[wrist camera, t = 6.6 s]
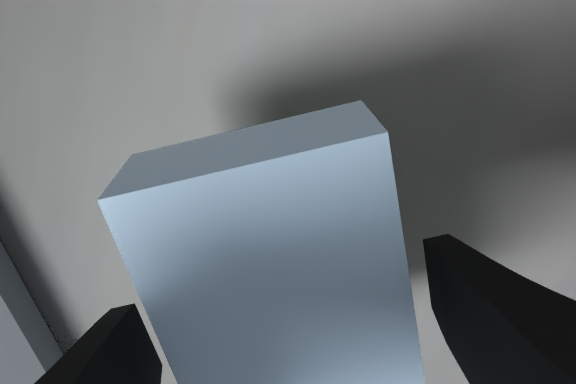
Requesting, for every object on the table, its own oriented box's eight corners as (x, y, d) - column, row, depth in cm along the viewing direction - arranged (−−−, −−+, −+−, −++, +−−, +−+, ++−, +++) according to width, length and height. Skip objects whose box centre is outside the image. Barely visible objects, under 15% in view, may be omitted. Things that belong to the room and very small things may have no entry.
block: (404, 356, 14) (432, 430, 12) (224, 393, 15) (217, 473, 12) (361, 99, 11) (388, 132, 9) (131, 154, 11) (96, 200, 9)
